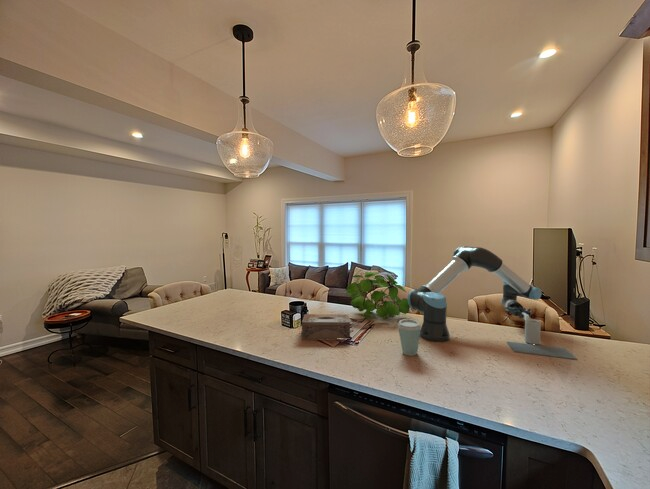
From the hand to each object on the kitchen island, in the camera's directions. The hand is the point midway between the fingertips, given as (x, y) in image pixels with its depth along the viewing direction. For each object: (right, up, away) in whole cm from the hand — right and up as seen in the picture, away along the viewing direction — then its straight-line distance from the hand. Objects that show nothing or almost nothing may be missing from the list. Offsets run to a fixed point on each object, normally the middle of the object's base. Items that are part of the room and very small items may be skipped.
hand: (527, 318), depth 145 cm
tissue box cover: (-109, -11, +6) cm, 110 cm away
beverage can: (-3, -11, -7) cm, 13 cm away
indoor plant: (-73, -10, +44) cm, 86 cm away
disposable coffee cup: (-70, -12, -17) cm, 73 cm away
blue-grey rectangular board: (-6, -11, -15) cm, 20 cm away
